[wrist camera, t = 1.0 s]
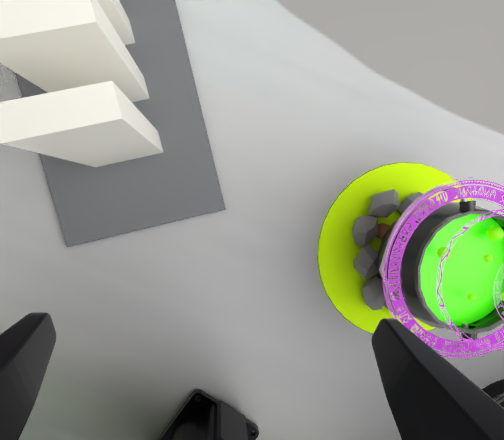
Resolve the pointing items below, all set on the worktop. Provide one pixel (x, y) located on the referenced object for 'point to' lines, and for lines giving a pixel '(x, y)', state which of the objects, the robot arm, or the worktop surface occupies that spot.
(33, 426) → the worktop surface
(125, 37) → the domino
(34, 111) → the domino
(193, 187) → the mat
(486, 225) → the toy cauldron
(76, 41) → the domino
